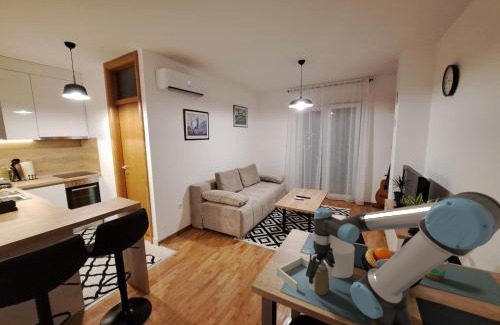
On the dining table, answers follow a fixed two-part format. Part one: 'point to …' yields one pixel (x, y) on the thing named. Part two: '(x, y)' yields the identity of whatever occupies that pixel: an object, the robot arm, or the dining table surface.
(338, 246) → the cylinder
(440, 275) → the food container
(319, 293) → the squeeze bottle
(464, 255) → the robot arm
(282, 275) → the cream u-shaped frame
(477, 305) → the dining table surface
